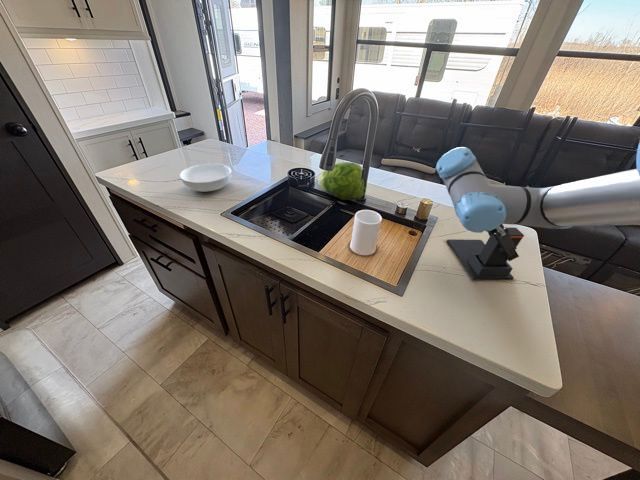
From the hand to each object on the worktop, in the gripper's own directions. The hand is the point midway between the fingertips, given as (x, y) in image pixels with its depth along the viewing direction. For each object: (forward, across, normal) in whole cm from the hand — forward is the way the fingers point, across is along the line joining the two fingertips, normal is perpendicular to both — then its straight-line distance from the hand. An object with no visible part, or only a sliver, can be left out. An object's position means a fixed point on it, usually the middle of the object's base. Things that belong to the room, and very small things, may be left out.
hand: (508, 253), depth 73 cm
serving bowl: (-67, -52, -77) cm, 115 cm away
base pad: (+2, -5, -8) cm, 9 cm away
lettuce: (-26, -46, -36) cm, 64 cm away
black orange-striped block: (-1, 0, -5) cm, 5 cm away
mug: (-23, -12, -33) cm, 42 cm away
